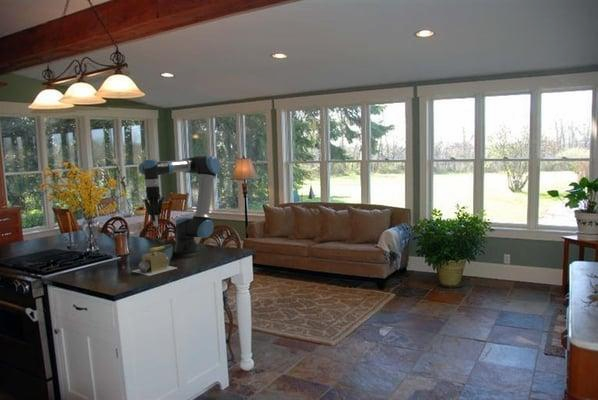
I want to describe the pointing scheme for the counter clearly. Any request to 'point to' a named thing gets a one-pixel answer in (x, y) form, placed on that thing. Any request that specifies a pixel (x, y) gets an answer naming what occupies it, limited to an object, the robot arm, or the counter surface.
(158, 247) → the lever
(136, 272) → the mat
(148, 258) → the valve
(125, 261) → the counter surface
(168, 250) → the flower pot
